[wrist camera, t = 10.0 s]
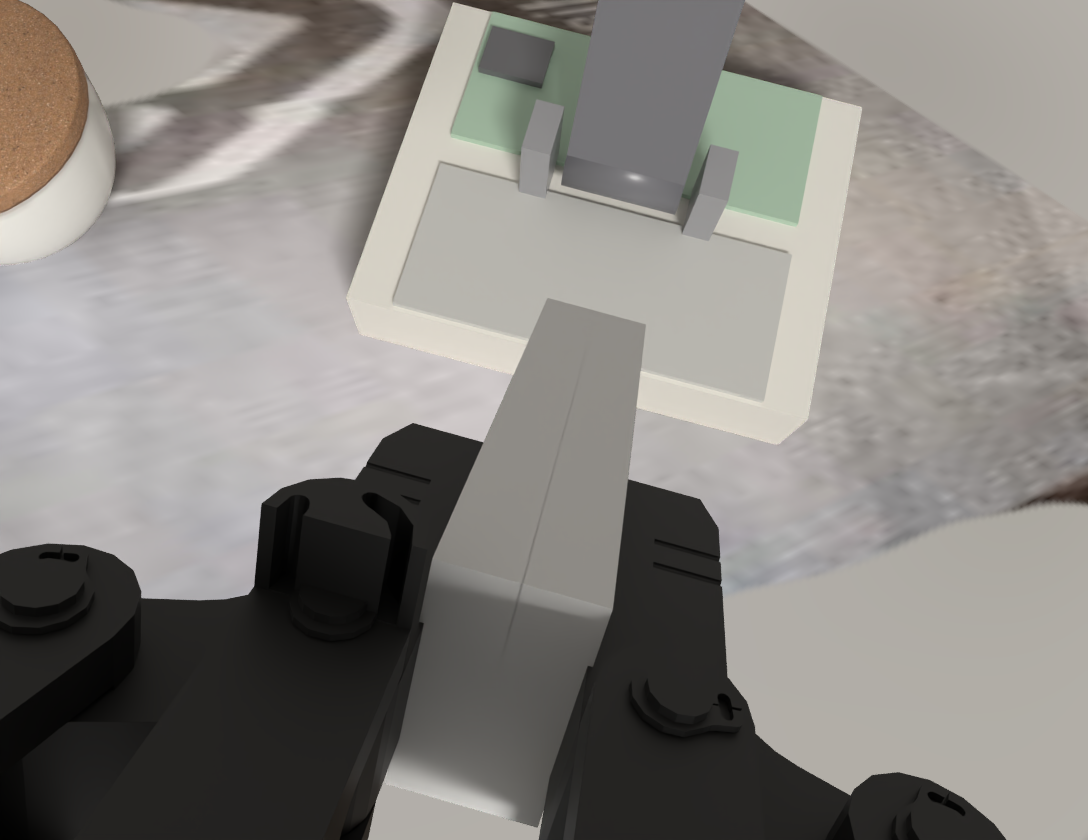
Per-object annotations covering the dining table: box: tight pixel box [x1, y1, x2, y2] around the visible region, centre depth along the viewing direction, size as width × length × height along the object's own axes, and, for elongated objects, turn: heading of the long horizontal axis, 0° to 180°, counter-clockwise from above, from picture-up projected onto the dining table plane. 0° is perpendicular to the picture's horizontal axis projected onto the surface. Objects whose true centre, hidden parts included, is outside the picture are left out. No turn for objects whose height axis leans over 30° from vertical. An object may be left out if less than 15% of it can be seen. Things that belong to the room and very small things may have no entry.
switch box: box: [346, 2, 862, 445], centre depth 39 cm, size 16×20×8 cm
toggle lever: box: [561, 0, 745, 215], centre depth 32 cm, size 4×5×16 cm
